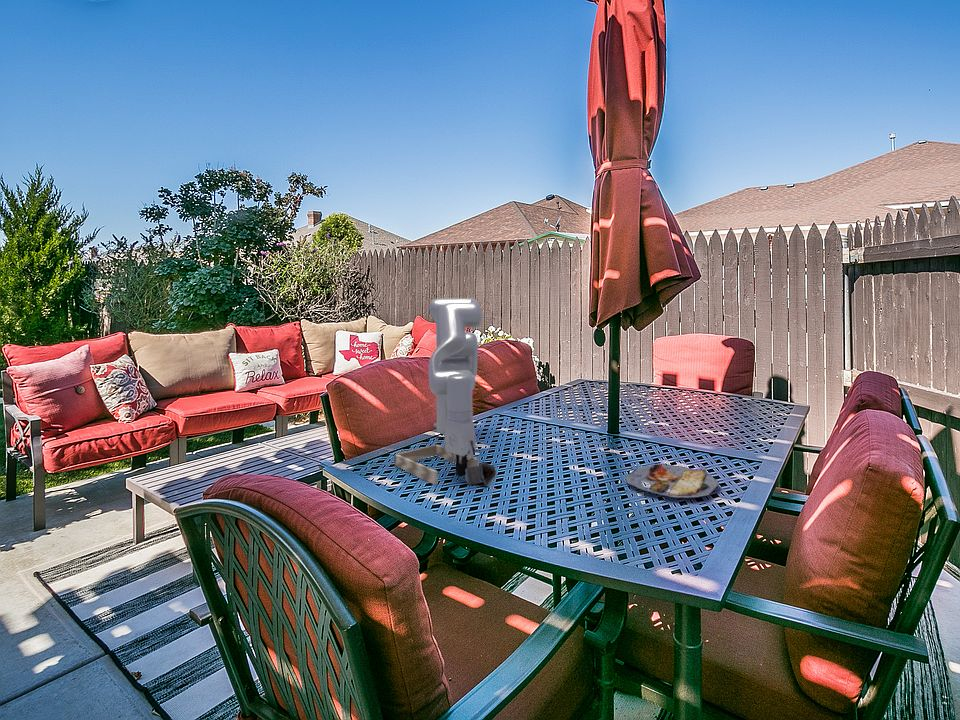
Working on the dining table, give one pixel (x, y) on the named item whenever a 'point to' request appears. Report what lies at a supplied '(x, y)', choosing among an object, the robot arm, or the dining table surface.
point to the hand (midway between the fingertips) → (461, 474)
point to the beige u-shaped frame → (421, 471)
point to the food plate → (665, 475)
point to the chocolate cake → (480, 474)
